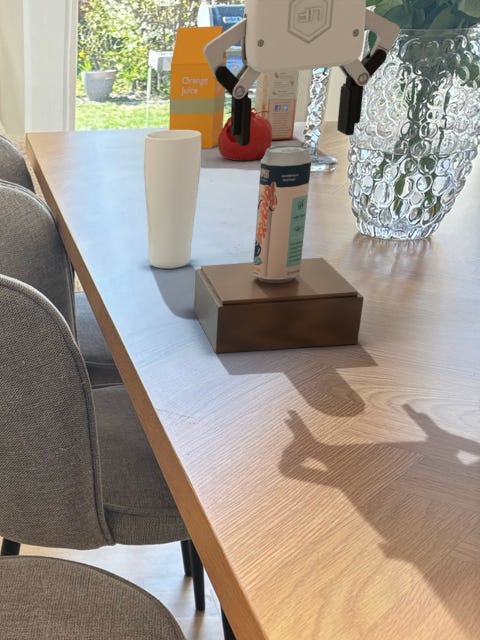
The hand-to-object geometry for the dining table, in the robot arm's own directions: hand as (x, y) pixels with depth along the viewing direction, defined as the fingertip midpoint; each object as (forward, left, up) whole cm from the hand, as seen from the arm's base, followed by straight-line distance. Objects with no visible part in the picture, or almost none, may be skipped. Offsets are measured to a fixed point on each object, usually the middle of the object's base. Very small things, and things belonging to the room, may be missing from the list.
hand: (293, 138), depth 94 cm
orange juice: (-9, -114, -18) cm, 116 cm away
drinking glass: (+8, -27, -18) cm, 33 cm away
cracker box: (-26, -118, -18) cm, 122 cm away
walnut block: (+1, 0, -18) cm, 18 cm away
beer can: (0, 0, -13) cm, 13 cm away
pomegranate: (-15, -96, -18) cm, 99 cm away
